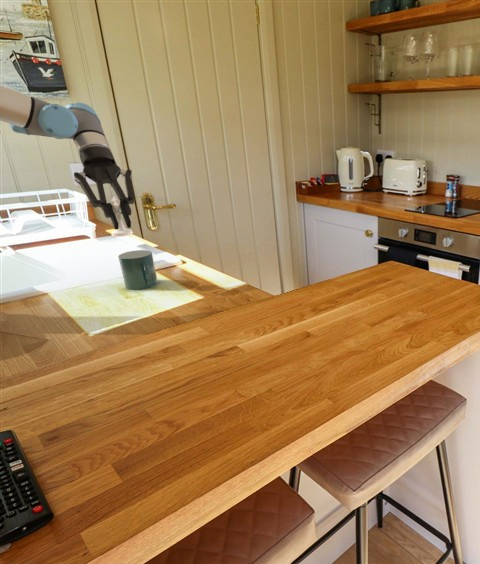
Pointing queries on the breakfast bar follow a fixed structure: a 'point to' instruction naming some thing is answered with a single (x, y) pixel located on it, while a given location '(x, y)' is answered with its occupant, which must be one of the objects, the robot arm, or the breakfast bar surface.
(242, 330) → the breakfast bar surface
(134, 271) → the cup
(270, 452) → the breakfast bar surface
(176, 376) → the breakfast bar surface
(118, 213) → the chess piece
